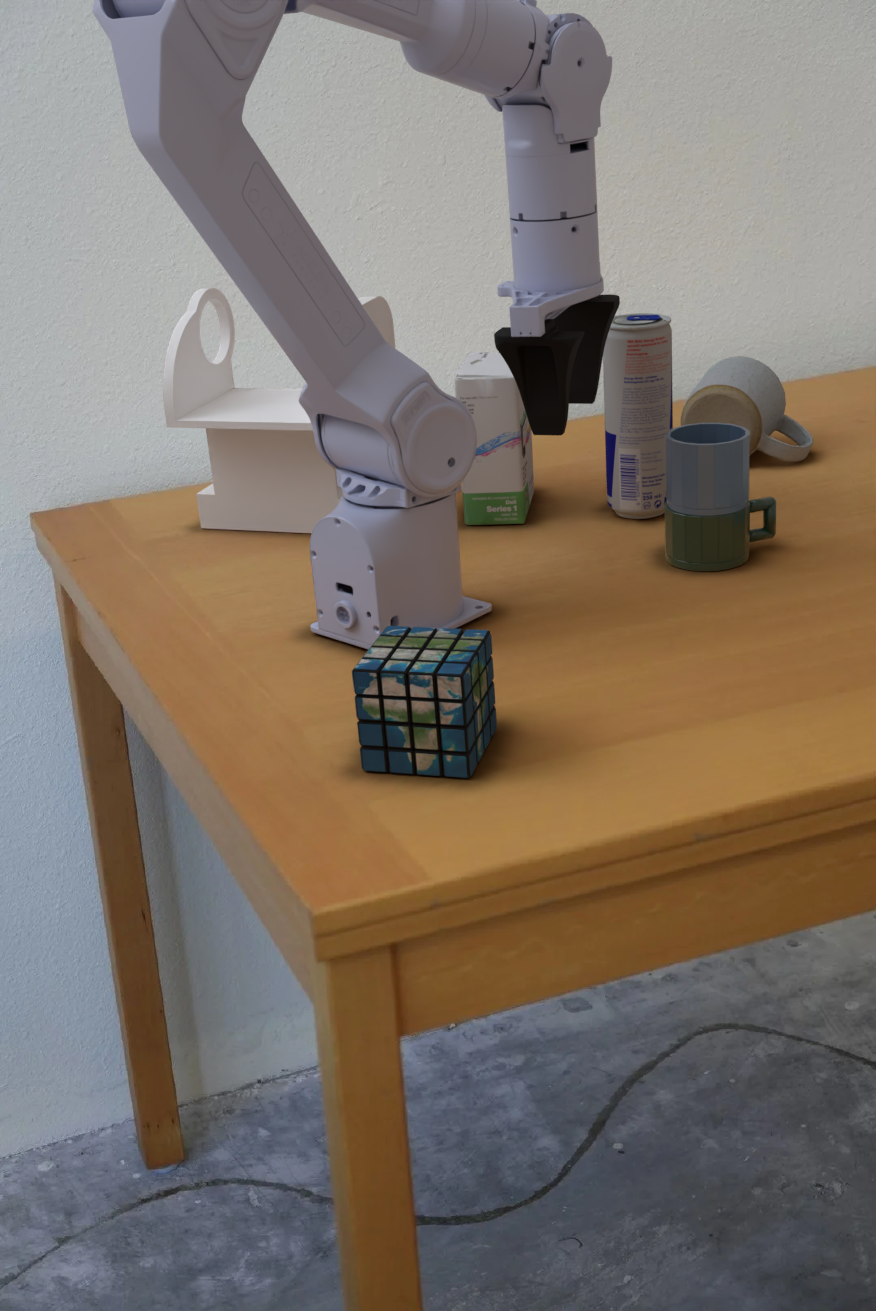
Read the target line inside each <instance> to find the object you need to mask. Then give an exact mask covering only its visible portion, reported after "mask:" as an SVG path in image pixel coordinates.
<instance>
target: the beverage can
mask: <svg viewBox="0 0 876 1311" xmlns="http://www.w3.org/2000/svg"><path fill="white" fill-rule="evenodd" d="M671 322H672V317H671V316H669V315H666V314H663V313H654V312H653V313H652V312H649V313H648V312H641V313H626V314H619V315H615V316H614V319H613V321H612V324H611V326H610V329H609V333H608V336H607V339H606V343H605V348H604V352H603V358H602V373H603V374H602V375H603V377H602V378H603V405H604V406H603V408H604V409H603V410H604V442H605V444H604V445H605V476H606V477H605V478H606V502H607V505H608V507H609V508H610V509H611V510H613V511H614V512H615V513H616V515H617V516H619V517H621V518H624V519H631V520H644V519H645V520H646V519H651V518H652V519H653V518H657V517H659V516H661V515H663V514H665V508H664V503H665V502H666V501H667V499H666V433H667V432H668V431H669V430H671V429H673V428H674V421H673V420H674V419H673V418H674V417H673V416H674V415H673V414H674V413H673V412H674V410H673V408H674V407H673V404H674V403H673V330H672V327H671Z"/></svg>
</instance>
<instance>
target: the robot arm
mask: <svg viewBox="0 0 876 1311" xmlns="http://www.w3.org/2000/svg"><path fill="white" fill-rule="evenodd" d="M537 3H538V1H537V0H93V5H92V13H93V16H94V17H95V18H96V21H97V22H98V24H99V25H100V27H101V28H102V30H103V31H104V33H105V34H106V36H107V37H108V39H109V41H110V44H111V45H110V46H111V49H112V53H113V58H114V63H115V67H116V73H117V76H118V82H119V86H120V90H121V95H122V99H123V100H122V101H123V105H124V110H125V114H126V118H127V122H128V127H129V132H130V135H131V138H132V140H133V142H134V143H135V145H136V147H137V149H138V151H139V152H140V154H141V155H142V157H143V158H144V160H145V161H146V162H147V164H148V165H149V166H150V168H151V170H152V171H153V172H154V173H155V174H156V175H157V178H158V179H159V180H160V182H161V183H162V184H163V186H164V187H165V189H166V190H167V191H168V193H169V194H170V196H171V197H172V198H173V200H174V201H175V202H176V204H177V205H178V206H179V208H180V209H181V211H182V212H183V213H184V215H185V216H186V218H187V219H188V221H189V222H190V223H191V224H192V226H193V228H194V229H195V230H196V232H197V233H198V234H199V236H200V237H201V239H202V240H203V241H204V242H205V244H206V245H207V247H208V248H209V249H210V251H211V253H212V254H213V255H214V257H215V258H216V260H217V261H218V262H219V264H220V265H221V266H222V268H223V269H224V270H225V273H227V274H228V276H229V278H230V279H231V280H232V281H233V283H234V285H235V286H236V287H237V289H238V290H239V291H240V293H241V294H242V295H243V297H244V298H245V299H246V301H247V302H248V303H249V305H250V306H251V308H252V309H253V311H254V312H255V313H256V315H257V316H258V317H259V319H260V320H261V322H262V324H264V326H265V327H266V329H267V330H268V331H269V333H270V334H271V336H272V337H273V338H274V340H275V341H276V342H277V344H278V345H279V347H280V348H281V349H282V351H283V352H284V353H285V355H286V356H287V358H288V359H289V360H290V362H291V363H292V365H293V366H294V367H295V369H296V370H297V372H298V373H299V375H300V377H302V379H303V380H304V382H305V383H304V384H303V386H302V388H301V389H302V391H301V394H300V396H299V403H300V405H301V406H302V407H303V409H304V410H305V411H306V413H307V415H308V417H309V418H310V421H311V424H312V427H313V433H314V438H315V443H316V446H317V449H318V451H319V453H320V455H321V457H322V458H323V459H324V461H325V462H326V463H327V464H328V465H330V466H331V467H332V468H334V469H336V475H337V485H338V487H340V488H342V494H343V496H342V498H341V500H340V502H339V504H338V506H337V507H336V508H335V509H334V510H333V511H332V512H331V513H330V514H328V515H327V516H325V517H323V518H322V519H321V520H319V521H318V522H317V523H316V525H315V526H314V528H313V531H312V533H310V539H309V555H310V556H309V557H310V565H311V573H312V574H311V575H312V581H313V582H312V583H313V591H314V600H315V609H316V616H317V621H315V622H313V623H310V626H309V628H310V632H311V633H313V634H317V635H320V636H322V637H323V636H324V637H327V638H331V639H333V640H336V641H339V642H343V643H346V644H349V645H353V646H355V647H359V648H362V649H365V650H367V651H368V650H369V649H370V647H371V646H372V645H373V643H374V642H375V641H376V639H377V638H378V637H379V636H380V634H381V633H382V632H383V631H384V629H385V628H386V627H387V626H403V627H410V628H411V629H412V628H413V627H428V628H436V629H437V631H438V629H439V628H452V629H458V628H459V627H462V626H463V625H466V624H468V623H470V622H472V621H474V620H475V619H478V618H481V617H482V616H483V615H486V614H488V613H490V612H491V611H492V610H493V608H492V607H493V606H492V603H490V602H488V601H483V600H480V599H476V598H473V597H468V596H465V595H464V594H463V592H464V591H463V580H462V578H463V577H462V566H461V565H462V564H461V550H460V536H459V524H458V522H459V521H458V506H457V494H458V493H460V492H462V481H463V480H464V478H465V477H466V475H467V474H468V472H469V470H470V468H471V466H472V463H473V461H474V457H475V453H476V447H477V432H476V426H475V422H474V419H473V417H472V414H471V413H470V411H469V409H468V408H467V407H466V406H465V405H464V403H463V402H461V401H460V400H458V399H457V398H456V396H455V397H454V396H453V395H451V394H448V393H446V392H444V391H443V390H442V389H441V388H440V387H439V386H438V385H437V384H436V382H435V381H434V380H433V378H432V376H431V375H430V374H429V372H428V371H427V370H425V369H424V368H423V367H422V366H421V365H419V364H418V363H416V362H415V361H414V360H413V359H411V358H409V357H408V356H406V355H405V354H404V353H403V352H401V351H400V350H398V349H397V348H396V347H395V348H394V347H392V346H391V345H390V344H389V343H387V342H386V341H385V339H384V338H383V336H382V335H381V333H380V332H379V330H378V328H377V327H376V325H375V324H374V322H373V321H372V319H371V318H370V316H369V315H368V313H367V312H366V310H365V309H364V307H363V306H362V304H361V303H360V301H359V300H358V298H359V297H358V296H357V295H356V294H355V292H354V290H353V289H352V288H351V286H350V284H349V283H348V281H347V280H346V278H345V276H344V275H343V274H342V272H341V271H340V269H339V267H338V266H337V265H336V263H335V261H334V260H333V259H332V256H330V254H329V252H328V251H327V250H326V248H325V246H324V244H323V243H322V242H321V240H320V239H319V237H318V236H317V234H316V233H315V231H314V229H313V228H312V227H311V225H310V224H309V222H308V221H307V219H306V217H305V215H304V214H303V213H302V211H301V209H300V208H299V207H298V205H297V204H296V202H295V201H294V199H293V198H292V196H291V194H290V193H289V192H288V190H287V188H286V186H284V184H283V182H282V181H281V179H280V178H279V176H278V174H277V173H276V171H275V170H274V168H273V167H272V166H271V164H270V163H269V161H268V159H267V158H266V156H265V155H264V154H263V152H262V151H261V149H260V147H259V146H258V144H257V142H256V141H255V140H254V138H253V137H252V135H251V134H250V132H249V131H248V129H247V128H246V126H245V124H244V122H243V112H244V107H245V103H246V98H247V95H248V93H249V91H250V88H251V86H252V84H253V82H254V79H255V77H256V75H257V73H258V71H259V70H260V69H259V68H260V67H261V64H262V62H263V60H264V58H265V56H266V54H267V51H268V49H269V48H270V45H271V44H272V41H273V38H274V36H275V34H276V32H277V29H278V28H279V25H280V24H281V21H282V19H283V16H284V15H288V14H298V13H304V14H308V15H311V16H314V17H318V18H319V19H324V20H328V21H331V22H334V23H337V24H340V25H343V26H347V27H351V28H355V29H357V30H361V31H364V32H367V33H370V34H373V35H376V36H380V37H384V38H386V39H390V40H394V41H397V42H399V45H400V48H401V51H402V55H403V57H404V59H405V61H406V62H407V64H408V65H409V66H410V67H411V68H412V69H413V70H414V71H416V72H418V73H421V74H423V75H426V76H430V77H432V78H435V79H438V80H441V81H443V82H446V83H449V84H452V85H455V86H458V87H460V88H463V89H466V90H468V91H471V92H475V93H477V94H479V95H480V94H481V95H484V97H485V99H486V101H487V102H488V104H490V106H491V107H492V108H493V109H494V110H495V111H496V112H498V113H502V124H503V140H504V155H505V168H506V181H507V182H506V183H507V197H508V198H507V199H508V212H509V228H510V230H509V231H510V243H511V245H510V246H511V257H512V258H511V259H512V272H513V280H507V281H503V282H502V283H500V284H498V285H497V296H498V297H500V298H502V297H503V298H504V297H505V298H506V297H507V298H511V300H512V304H511V305H510V306H509V308H508V309H509V310H508V311H509V323H510V326H502V327H501V328H499V329H498V330H496V331H495V332H494V333H493V338H494V345H495V349H496V350H497V352H499V353H500V354H501V356H502V357H503V359H504V360H505V362H506V363H507V365H508V367H509V369H510V371H511V373H512V375H513V377H514V379H515V381H516V384H517V386H518V389H519V392H520V395H521V398H522V402H523V405H524V408H525V412H526V415H527V418H528V421H529V424H530V427H531V431H532V436H563V435H564V434H565V432H566V428H567V424H568V419H569V418H568V417H569V409H570V408H569V407H570V405H571V404H572V405H573V404H574V405H580V404H581V405H584V404H585V405H592V404H594V403H595V401H596V398H597V394H598V388H599V384H600V376H601V371H602V365H603V352H604V348H605V343H606V339H607V336H608V333H609V329H610V326H611V324H612V321H613V319H614V316H616V314H617V312H618V309H619V307H620V304H621V300H620V298H621V297H620V296H619V295H618V294H610V293H609V294H603V293H604V291H605V286H604V285H605V284H604V277H603V276H602V274H601V260H600V241H599V240H600V239H599V219H598V218H599V217H598V216H599V214H598V194H597V193H598V192H597V171H596V168H597V167H596V147H595V143H596V142H595V137H597V136H598V134H599V130H598V129H599V128H601V127H602V125H601V124H602V123H601V122H602V121H601V107H602V101H603V99H604V96H605V94H606V93H607V90H608V88H609V85H610V81H611V79H612V78H611V77H612V72H613V57H612V56H611V55H609V56H608V54H607V49H606V45H605V42H604V40H603V37H602V35H601V34H600V32H599V31H598V29H597V28H595V27H594V26H593V24H592V23H591V22H590V20H588V18H586V17H585V16H583V15H580V14H578V13H574V12H563V13H552V14H546V13H545V12H544V11H543V10H542V9H541V8H539V7H537Z"/></svg>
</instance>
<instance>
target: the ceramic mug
mask: <svg viewBox="0 0 876 1311" xmlns="http://www.w3.org/2000/svg"><path fill="white" fill-rule="evenodd" d="M786 406H787V400H786V391H785V389H784V386H783V384H782V382H781V380H780V378H779V376H778V375H777V374H776V373H775V372H774V371H773V370H772V368H770V366H768V365H766V364H765V363H763V362H762V361H760V360H758V359H756V358H752V357H749V356H730V357H727V358H724V359H722V360H718V362H716V363H714V364H712V366H710V368H709V369H708V370H707V371H706V372H705V373H704V375H703V376H702V377H701V379H700V380H699V381H698V383H697V384H696V385H695V387H694V388H693V389H692V390H691V391H690V393H689V394H688V396H687V397H686V400H685V401H684V404H683V406H682V409H681V414H680V426H683V425H687V424H695V423H728V424H735V425H739V426H743V427H745V428H746V429H748V430H749V431H750V453H749V457H750V456H751V455H752V454H754V453H755V452H756V451H759V452H761V453H762V454H765V455H767V456H769V457H772V458H774V459H777V460H780V461H783V462H790V463H795V462H798V463H799V462H801V461H804V460H805V459H807V457H808V455H809V454H810V451H811V449H812V447H813V445H814V436H812V433H811V432H809V430H808V429H806V427H804V426H803V425H802V424H800V423H799V422H798V420H796V419H794V418H792V417H791V416H789V415H787V414H785V412H786ZM774 432H778V433H780V434H782V435H783V436H785V437H787V438H788V439H790V440H791V441H793V442H794V443H795V444H796V445H793V444H789V443H787V442H783V441H782V440H779V439H777V438H774V437H772V436H771V435H772V434H773V433H774Z"/></svg>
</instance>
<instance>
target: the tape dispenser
mask: <svg viewBox="0 0 876 1311" xmlns="http://www.w3.org/2000/svg"><path fill="white" fill-rule="evenodd" d="M357 298H358V300H359V301H360V303H361V304H362V306H363V307H364V309H365V310H366V312H367V313H368V315H369V316H370V318H371V319H372V321H373V322H374V324H375V325H376V327H377V328H378V330H379V332H380V333H381V335H382V336H383V338H384V339H385V341H386V342H387V343H389V344H390V345H391V346H392V347H394V348H395V349H396V339H395V338H396V337H395V325H394V319H393V315H392V311H391V307H390V305H389V303H388V301H387V300H386V299H385V297H383V296H382V295H381V296H380V295H373V296H372V295H367V296H365V295H364V296H360V297H357ZM208 302H210V303H211V305H212V306H213V307H214V309H215V311H216V314H217V318H218V321H219V322H218V323H219V329H220V330H219V331H220V336H219V337H220V338H219V346H218V351H217V353H216V356H215V358H214V359H213V360H212V361H211V360H210V359H208V356H206V354H205V352H204V348H203V344H202V341H201V318H202V313H203V311H204V308H205V307H206V304H208ZM235 331H236V330H235V320H234V316H233V310H232V308H231V305H230V302H229V300H228V298H227V297H226V295H225V293H223V292H222V291H221V290H220V289H218V288H215V287H202V288H199V289H197V290H195V292H194V293H193V294H192V295H191V298H190V299H189V301H188V304H187V307H186V311H185V312H184V313H183V315H182V316H181V317H180V319H179V320H178V322H176V324H175V327H174V329H173V331H172V333H171V336H170V339H169V342H168V345H167V350H166V353H165V358H164V366H163V376H162V397H163V398H162V399H163V410H164V416H165V423H166V428H174V429H175V428H176V429H178V428H179V429H182V428H183V429H205V434H206V442H207V447H208V455H209V456H208V457H209V462H210V471H211V477H212V483H211V484H209V485H207V486H206V487H204V488H203V489H202V490H200V491H198V492H197V493H196V496H195V497H196V503H197V511H198V517H199V524H200V529H208V530H209V529H211V530H230V531H231V530H232V531H253V532H254V531H256V532H274V533H275V532H277V533H296V534H297V533H298V534H300V533H301V534H312V531H313V528H314V526H315V525H316V523H317V522H318V521H319V520H321V519H322V518H323V517H325V516H327V515H328V514H330V513H331V512H332V511H333V510H334V509H335V508H336V507H337V506H338V504H339V502H340V500H341V498H342V496H343V494H342V488H340V487H338V485H337V475H336V469H334V468H332V467H331V466H330V465H328V464H327V463H326V462H325V461H324V459H323V458H322V457H321V455H320V453H319V451H318V449H317V446H316V443H315V438H314V433H313V427H312V424H311V421H310V418H309V417H308V415H307V413H306V411H305V410H304V409H303V407H302V406H301V405H300V403H299V396H300V394H301V391H302V389H303V388H271V387H270V388H264V387H263V388H260V387H259V388H257V387H256V388H255V387H235V381H234V373H233V366H232V357H233V354H234V349H235V348H234V347H235V338H236V332H235Z"/></svg>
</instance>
